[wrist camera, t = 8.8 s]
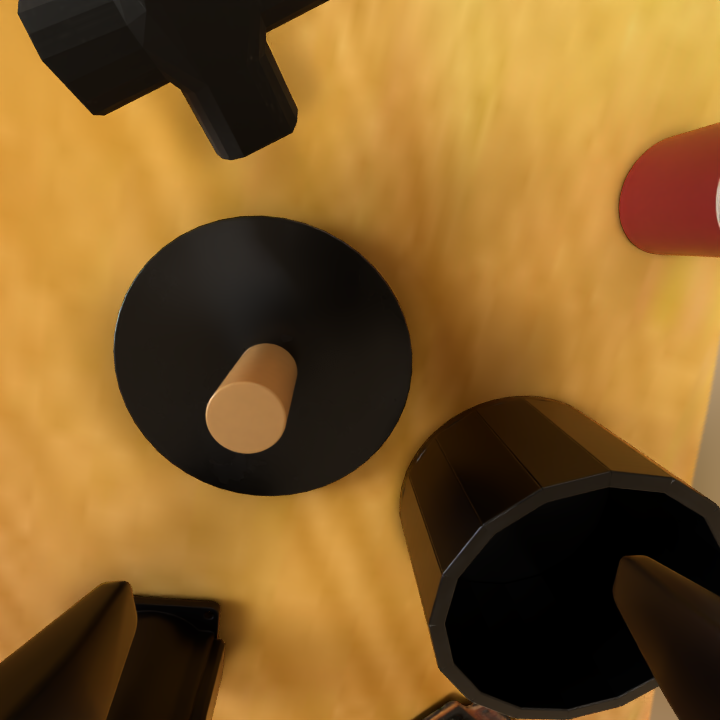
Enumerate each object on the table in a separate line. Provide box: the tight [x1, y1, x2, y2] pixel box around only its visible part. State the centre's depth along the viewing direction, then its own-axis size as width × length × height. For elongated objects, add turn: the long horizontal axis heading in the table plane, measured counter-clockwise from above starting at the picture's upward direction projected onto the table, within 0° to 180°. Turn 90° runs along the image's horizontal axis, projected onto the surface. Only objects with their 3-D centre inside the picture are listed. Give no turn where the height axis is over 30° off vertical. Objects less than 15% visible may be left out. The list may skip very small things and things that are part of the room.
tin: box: [400, 396, 720, 720], centre depth 17 cm, size 11×11×6 cm
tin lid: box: [113, 216, 412, 496], centre depth 15 cm, size 12×12×6 cm
